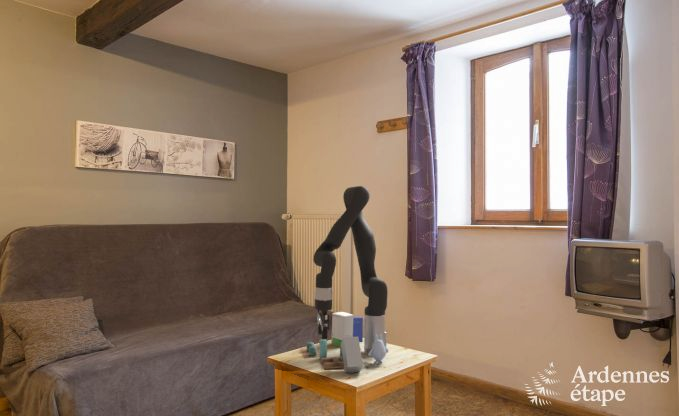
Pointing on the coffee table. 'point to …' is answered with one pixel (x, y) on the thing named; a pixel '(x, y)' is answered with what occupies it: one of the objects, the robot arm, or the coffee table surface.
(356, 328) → the walkman
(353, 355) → the white rectangular block
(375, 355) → the toy figure
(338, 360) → the board
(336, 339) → the skincare box
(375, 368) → the coffee table surface
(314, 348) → the board
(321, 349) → the pin
